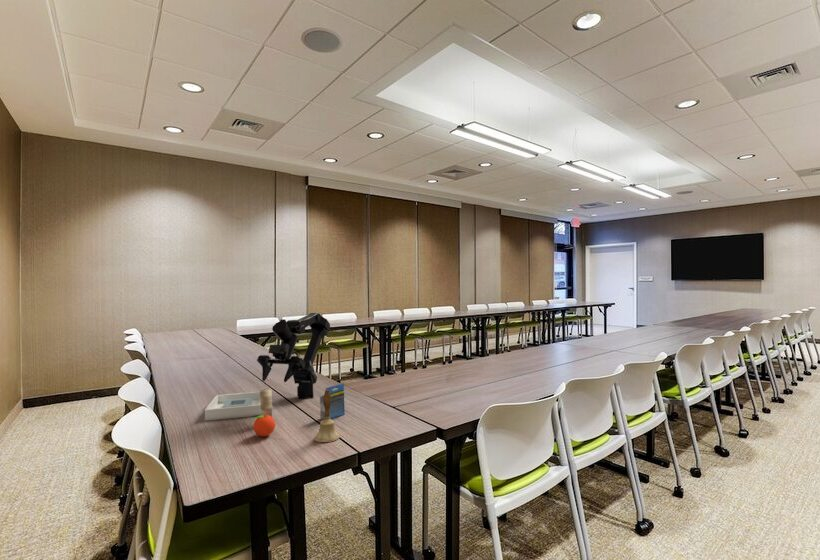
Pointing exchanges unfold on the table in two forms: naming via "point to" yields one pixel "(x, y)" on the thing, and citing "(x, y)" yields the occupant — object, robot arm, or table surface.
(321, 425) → the hand bell
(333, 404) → the label tape cartridge
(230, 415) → the tray
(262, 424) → the clementine
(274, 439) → the table surface
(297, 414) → the table surface
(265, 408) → the peg
